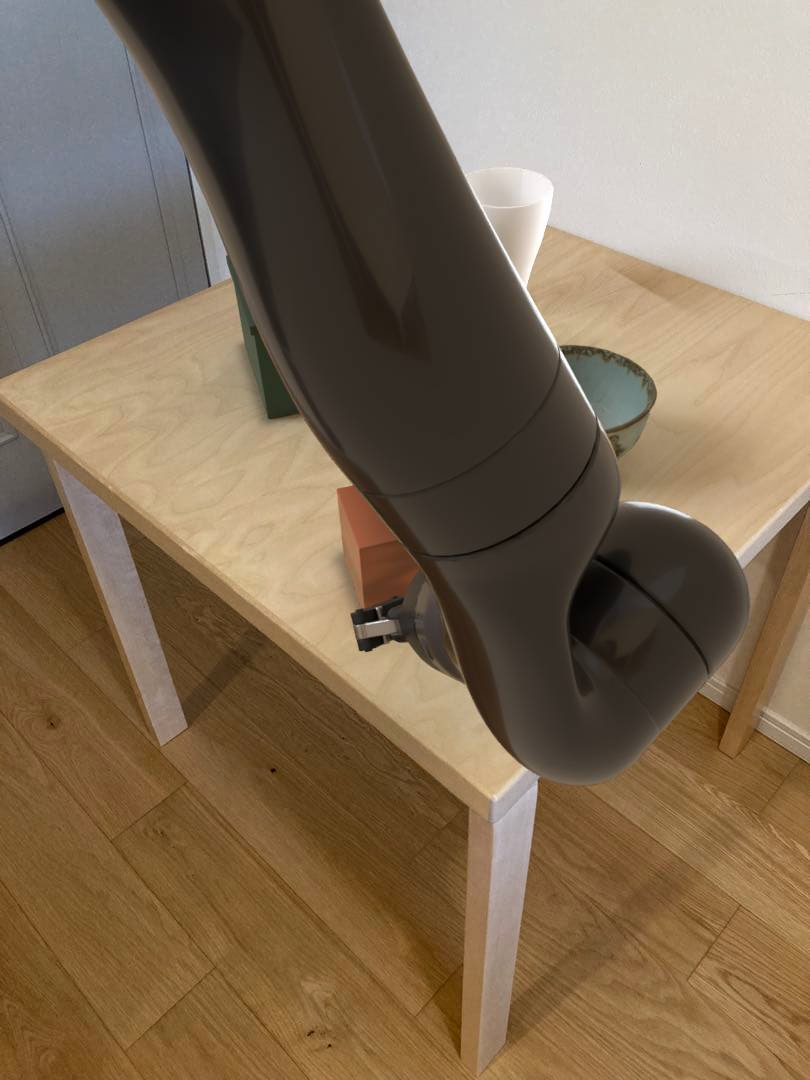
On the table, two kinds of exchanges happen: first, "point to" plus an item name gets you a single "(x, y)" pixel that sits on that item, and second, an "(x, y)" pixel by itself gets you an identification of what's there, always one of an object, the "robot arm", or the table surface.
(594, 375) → the bowl
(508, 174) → the cup
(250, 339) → the box
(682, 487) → the table surface
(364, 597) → the block
